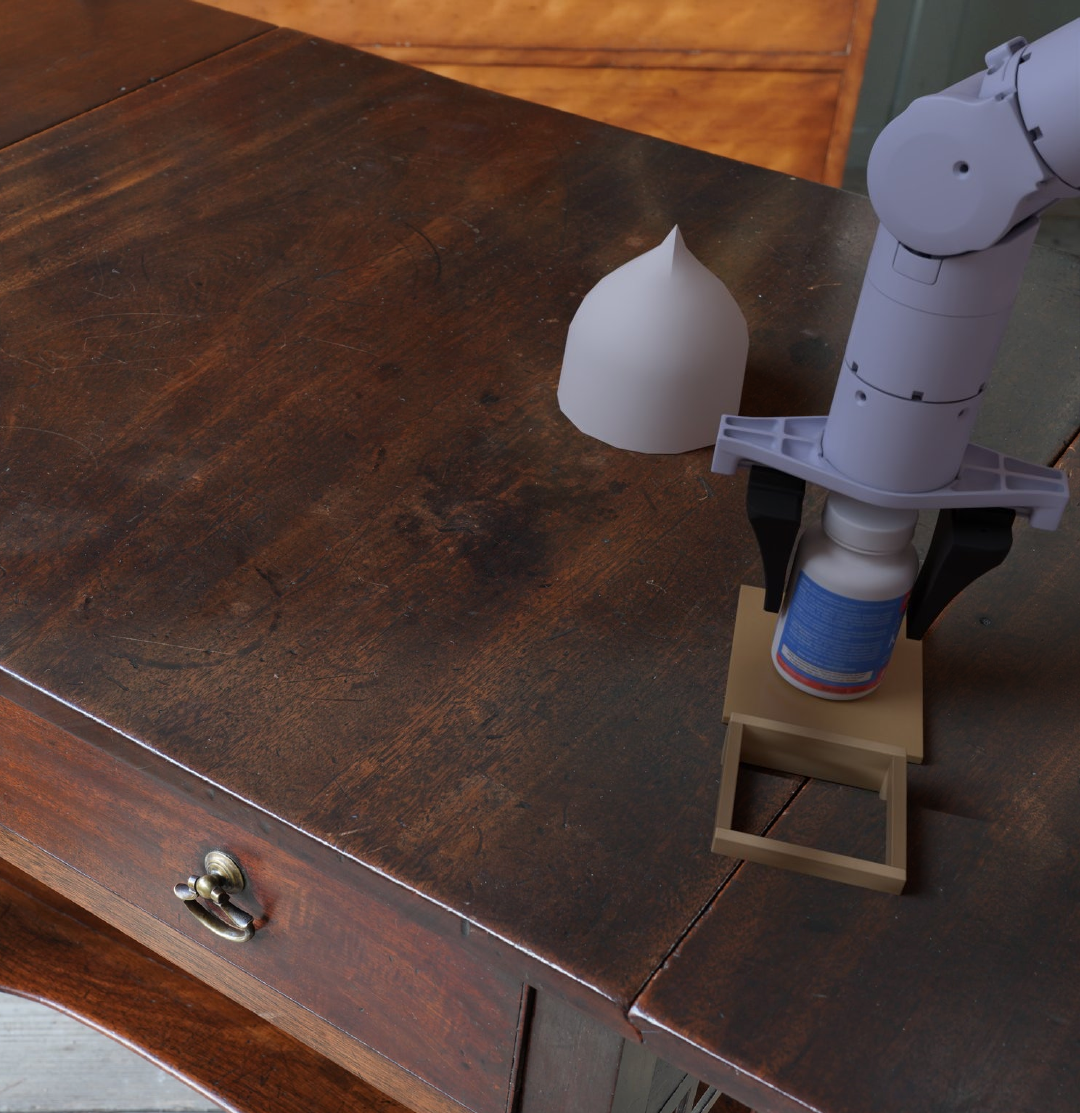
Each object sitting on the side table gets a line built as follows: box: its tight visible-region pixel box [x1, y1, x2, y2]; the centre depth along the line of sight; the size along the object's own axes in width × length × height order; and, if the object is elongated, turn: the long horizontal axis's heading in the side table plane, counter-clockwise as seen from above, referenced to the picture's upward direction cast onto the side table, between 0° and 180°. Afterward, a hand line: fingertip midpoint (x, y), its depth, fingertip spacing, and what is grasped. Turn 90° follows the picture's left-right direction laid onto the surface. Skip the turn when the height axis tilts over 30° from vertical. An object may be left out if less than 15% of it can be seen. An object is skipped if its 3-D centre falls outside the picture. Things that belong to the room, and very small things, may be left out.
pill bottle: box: [771, 489, 920, 700], centre depth 68 cm, size 6×5×10 cm
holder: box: [710, 712, 908, 896], centre depth 63 cm, size 8×8×2 cm
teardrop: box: [556, 223, 750, 455], centre depth 86 cm, size 11×11×12 cm
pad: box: [721, 583, 924, 765], centre depth 71 cm, size 9×10×1 cm
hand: (842, 612), depth 69 cm, fingers open, 6 cm apart
